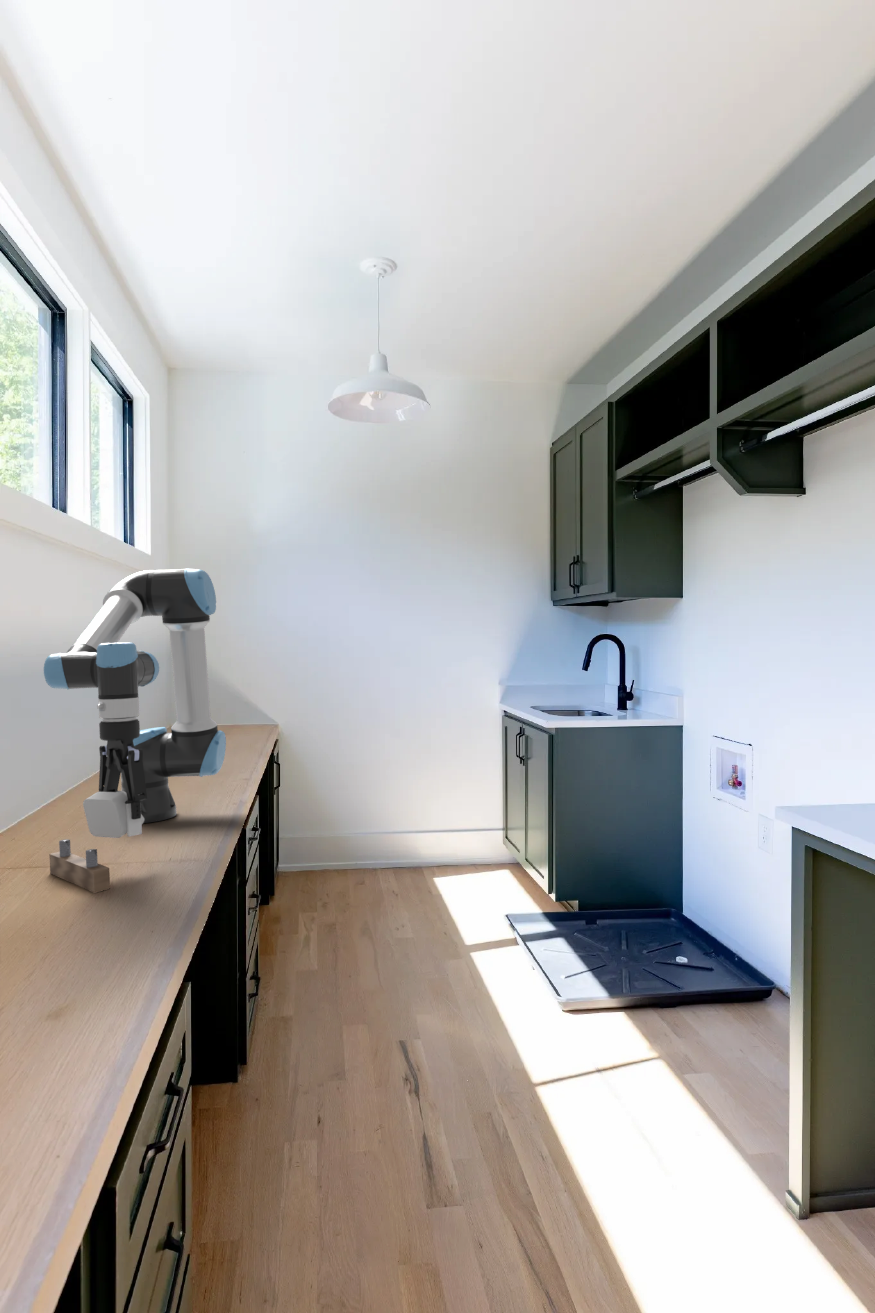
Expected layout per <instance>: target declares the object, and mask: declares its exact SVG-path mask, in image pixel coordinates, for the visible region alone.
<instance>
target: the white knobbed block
mask: <svg viewBox="0 0 875 1313" xmlns="http://www.w3.org/2000/svg"><path fill="white" fill-rule="evenodd" d="M127 800H128V798H127V794H126V792H124V791H121V790H118V791H117V792H99V791H97V792H95V793H94V794H92V795H90V796H89V797H87V798H85V799H84V800H83V802H82V807H83V811H84V814H85V818H86V822H87V827H88V831H89V833H90V834H91V835H92V836H93V837H95V838H97V837H98V838H109V839H110V838H112V839H115V838H116V839H119V838H121V837H123V836H124V835H127V821H126V804H125V801H127ZM143 822H144V817H143V816H142V814H141V823H142V825H143V824H144V823H143Z"/></svg>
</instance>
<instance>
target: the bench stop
mask: <svg viewBox="0 0 875 1313" xmlns="http://www.w3.org/2000/svg"><path fill="white" fill-rule="evenodd" d="M58 845H59V851H57V852H52V853H48V854H49V873H50V875H53V876H55V877H57V878H60V879H61V880H64V881H67V882H68V883H71V884H73V885H76V886H77V887H80V888H82V889H85V888H86V889H85V890H87V891H89V890H90V891H89V892H91V893H94V894H95V893H99V892H103V890H104V891H106V890H110V889H111V880H110V879H111V876H110V872H111V871H110V867H109V866H105V865H103V864H100V863H99V862H98V849H96V848H91V849H89V848H88V849H86V850H85V857H82V856H79V855H77V854H74V853H71V839H61V840H58ZM109 888H110V889H109Z"/></svg>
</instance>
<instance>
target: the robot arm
mask: <svg viewBox="0 0 875 1313" xmlns="http://www.w3.org/2000/svg"><path fill="white" fill-rule="evenodd" d="M215 590H216V589H215V586H214V583H213V581H212V579H211V577H210V575H209V574H208V572H207V571H205V570H203V569H198V568H196V569H195V568H187V567H186V568H181V569H180V568H179V569H178V568H177V569H156V570H154V569H149V570H148V569H147V570H143V571H138V572H135V573H133V574H131V575H128V576H127V577H125V578H124V579H122V580H120V581H119V582H117V583H116V584H115V585H114V586H112V587H111V588H110V589H109V590H108V591H107V593H106V594H105V595H104V597H103V600H102V606H101V608H100V609H99V610H98V612H97V613H96V614H95V615H94V616H93V618H92V620H91V621H90V622H88V624H87V626H85V628H84V629H83V631H82V632H81V633H80V635H79V636H78V637H77V638H76V639H75V641H74V643H73V644H72V645H71V646H70V648H68V650H67V651H66V652H63V653H62V652H58V653H52V654H49V655H48V656H47V657H46V659H45V660H44V664H43V676H44V679H45V682H46V684H47V685H48V686H49V687H50V688H51V689H60V690H61V689H63V690H74V689H94V688H96V689H98V690H97V692H98V694H97V698H98V704H97V705H96V708H97V709H98V715H99V716H98V718H99V719H101V721H100V722H99V723H98V724H99V725H98V726H99V739H100V740H102V741H104V742H105V741H107V743H106V745H100V746H99V748H98V749H99V776H98V777H99V778H98V792H117V791H119V784H120V781H121V789H120V791H124V792H126V794H127V798H128V800H127V801H125V804H126V821H127V833H126V836H127V837H134V836H138V835H142V834H143V827H142V825H143V824H148V823H155V822H162V821H165V820H169V819H171V818H174V817H175V816H177V804H176V802H175V800H174V797H173V795H172V791H171V789H170V787H169V786H170V785H169V778H177V777H178V778H179V777H182V778H183V777H200V778H203V777H206V776H208V777H209V776H214V775H217V774H218V773H219V772H220V771H221V769H222V767H223V764H224V760H225V756H226V749H227V748H226V747H227V746H226V745H227V739H226V737H227V736H226V733H225V732H224V730H223V731H222V730H218V723H217V721H215V720H214V719H213V718H212V717H211V704H210V703H211V702H210V690H209V689H210V688H209V676H208V675H209V674H208V662H207V650H206V649H207V648H206V647H207V646H206V635H205V634H206V633H205V628H206V626H207V625H208V623H210V621H211V617H210V616H212V615H213V614H215V612H216V610H217V605H216V604H217V597H216V591H215ZM150 616H151V617H152V616H153V617H156V616H157V617H158V616H159V617H162V618H161V619H162V625H163V626H165V627H166V628H168V630H169V638H170V639H169V640H170V641H169V642H170V653H171V665H172V666H171V667H172V678H173V693H174V702H175V714H176V721H175V722H174V723H173V725H172V726H171V731H170V732H168V730H167V727H165V726H161V727H160V726H159V727H151V728H144V729H140V728H141V727H140V720H139V719H138V717H139V716H140V701H139V700H140V698H139V687H145V686H148V685H150V684H152V683H153V682H154V681H155V680H156V679H157V678H158V675H159V673H160V663H159V660H157V657H156V656H155V655H153V654H152V653H150V652H148V651H144V650H137V645H136V643H134V642H120V640H121V638H122V637H123V636H124V634H125V632H127V629H128V628H129V627H130V626H131V624H134V623H136V622H137V621H138V620H140V619H141V618H143V617H150ZM141 814H142V816H143V817H144V822H143V824H142V823H141Z"/></svg>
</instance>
